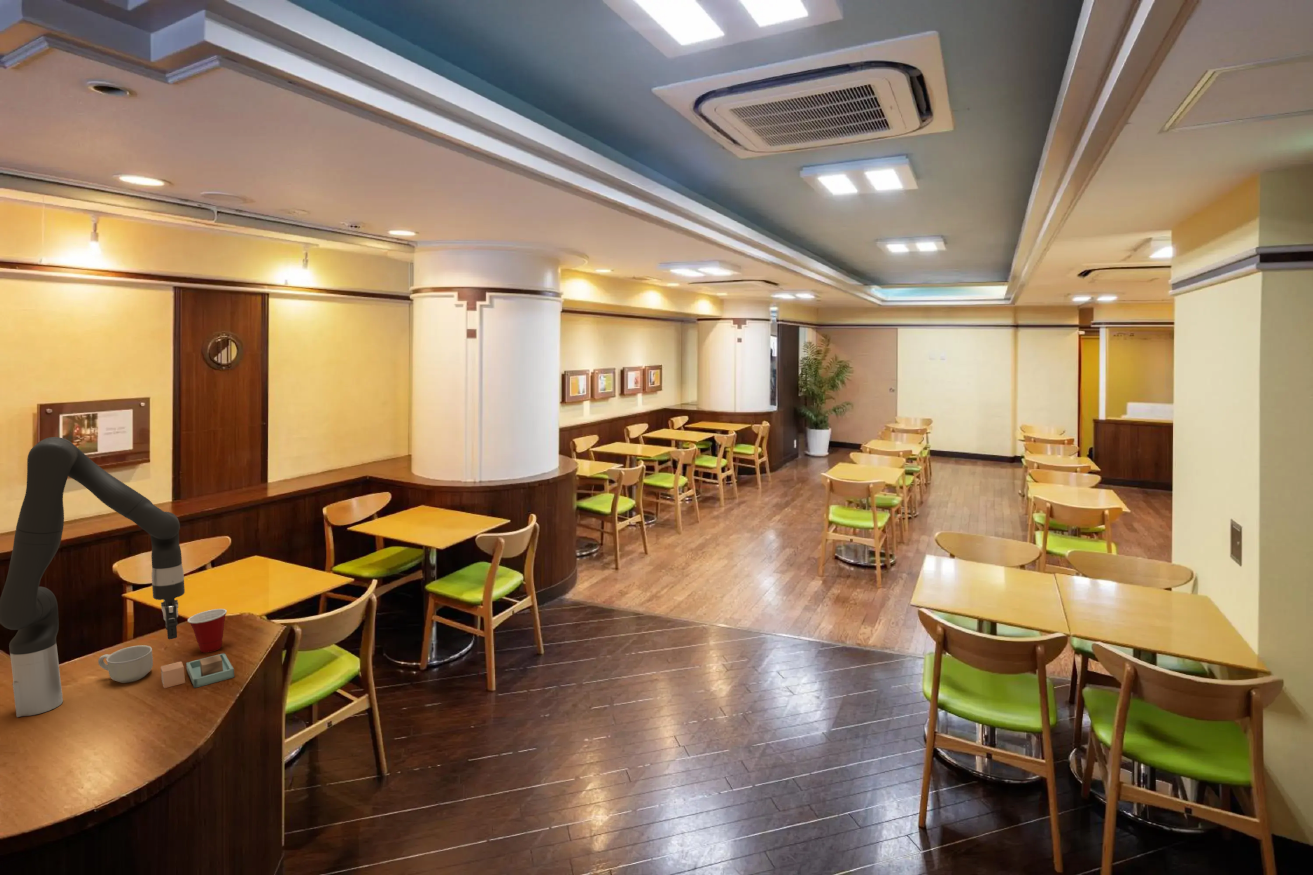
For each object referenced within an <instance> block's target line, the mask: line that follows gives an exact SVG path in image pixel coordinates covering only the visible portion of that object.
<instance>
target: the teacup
mask: <svg viewBox="0 0 1313 875" xmlns="http://www.w3.org/2000/svg"><path fill="white" fill-rule="evenodd" d="M104 659H105V660H106V662H105V661H104ZM97 663H98V665H99V667H100V668H102V669H103V670H106V671H108V674H109V677H110V678H111V679H112V680H113V681H114V682H115V681H116V682H118V683H121V684H126V683H127V684H128V683H133V682H136V681H138V680H141V679H143V678H144V677H145V676H147V674H148V673H149V672H151V670H152V669H153V665H154V660H153V648H152V647H151V646H150V645H145V644H143V645H142V644H141V645H140V644H139V645H133V646H128V647H124V648H121V649H118V650H116V651H114V652H112V653H111V654H103V655H101V656H100V657H98V661H97Z"/></svg>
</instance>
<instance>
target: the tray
mask: <svg viewBox="0 0 1313 875" xmlns="http://www.w3.org/2000/svg"><path fill="white" fill-rule="evenodd" d="M217 655H220V657H221V659H222V664H223V671H221V672H217V673H214V674H210V675H206V676H202V677H201V669H200V660H201V659H205V658H209V657H213V656H217ZM185 664H186V665H185V668H186V672H187V674H188V675H187V676H189V680H190V681H191V683H192V684H191V685H192V687H193V689H195V688H200V687H204V686H207V685H211V684H215V683H218V682H223V681H225V680H229V679H233V678H235V668H234V666H233V665H232V663H231V662H230V660H229V658H228V657H227V655H226V653H224V652H223V653H220V654H219V653H218V654H216V655H215V654H214V655H212V656H208V657H204V658H200V659H196V660H192V661H188V662H186V663H185Z"/></svg>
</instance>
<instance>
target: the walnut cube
mask: <svg viewBox="0 0 1313 875" xmlns="http://www.w3.org/2000/svg"><path fill="white" fill-rule="evenodd" d="M216 655H217V656H215V655H212V656H213V657H211V656H208V657H209V658H207V657H204V658H205V659H203V658H200V659H201V660H200V669H201V677H202V676H206V675H210V674H214V673H217V672H221V671H223V664H222V659H221V657H220V655H219V654H216Z"/></svg>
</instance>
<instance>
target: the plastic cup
mask: <svg viewBox="0 0 1313 875" xmlns="http://www.w3.org/2000/svg"><path fill="white" fill-rule="evenodd" d="M226 615H227V609H225V608H214V609H209V610H205V611H201V612H198V613H195V614H194V615H192V616H190V617H188V618H187V623H189V624H190V626H191V629H192V631H193V632H194V636H195V640H196V641H197V644H198V647H199V651H200V652H201V653H212V652H213V653H214V652H215V651H218V650H220V649H221V648H222V646H223V638H224V629H225V620H226Z"/></svg>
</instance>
